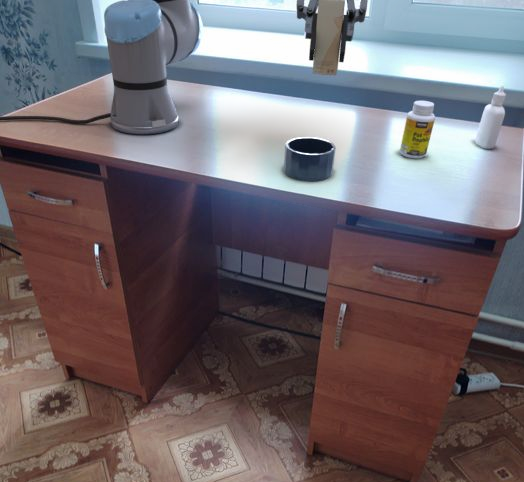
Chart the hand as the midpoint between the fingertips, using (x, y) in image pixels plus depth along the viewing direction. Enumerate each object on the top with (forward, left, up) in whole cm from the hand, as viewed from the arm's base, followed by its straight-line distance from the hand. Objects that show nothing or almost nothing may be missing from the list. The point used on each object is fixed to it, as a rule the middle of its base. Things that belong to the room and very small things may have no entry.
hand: (326, 56), depth 85 cm
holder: (-1, 0, -20) cm, 20 cm away
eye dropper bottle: (+33, +29, -20) cm, 48 cm away
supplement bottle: (+18, +17, -20) cm, 32 cm away
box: (-1, +4, -3) cm, 5 cm away
